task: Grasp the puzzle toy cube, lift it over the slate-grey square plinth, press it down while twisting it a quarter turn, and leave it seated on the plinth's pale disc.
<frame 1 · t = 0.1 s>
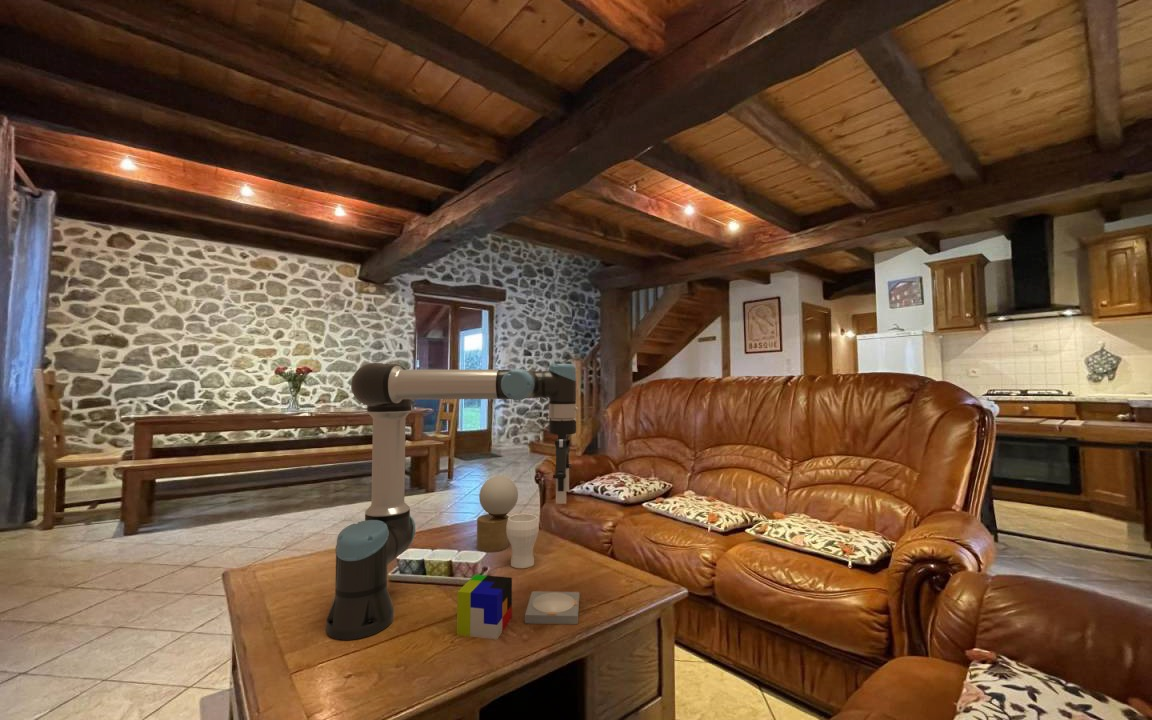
hand: (562, 497, 125), 28 cm above the table, fingers open, 13 cm apart
cup: (522, 564, 150), on the table
plinth: (553, 610, 119), on the table
lamp: (497, 546, 168), on the table
puzzle toy: (485, 627, 111), on the table
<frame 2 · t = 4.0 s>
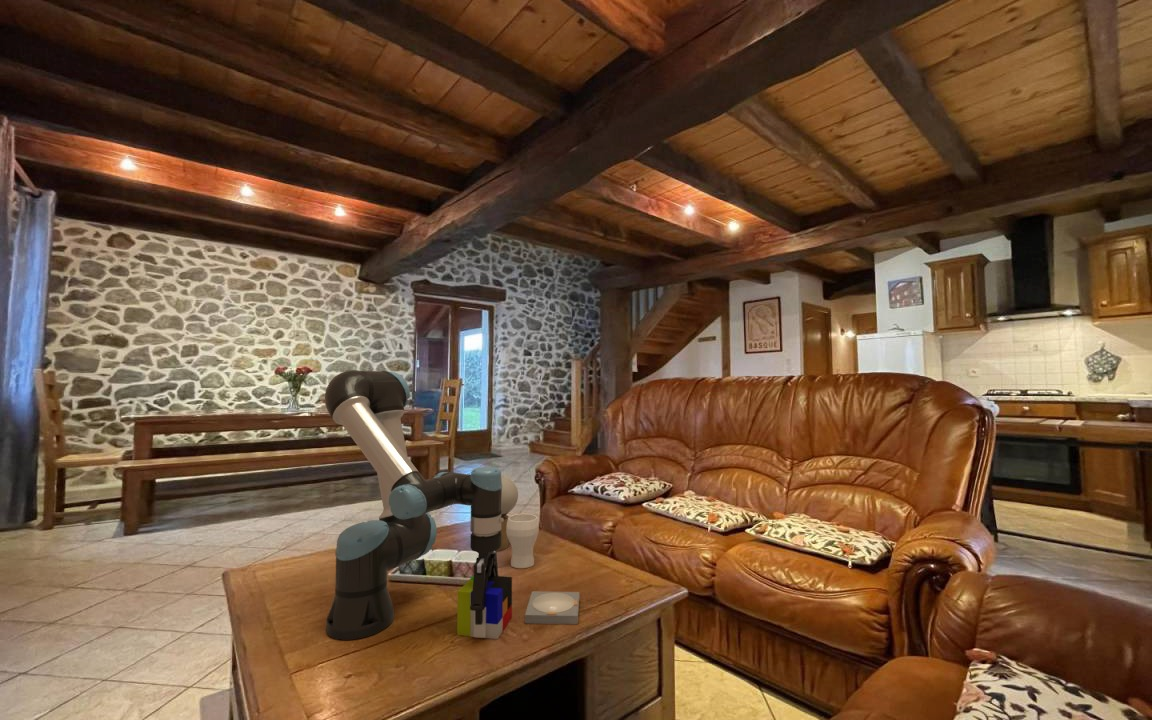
hand: (485, 624, 111), 0 cm above the table, fingers closed on puzzle toy, 11 cm apart
puzzle toy: (485, 626, 111), on the table, touching gripper
everything else where it was.
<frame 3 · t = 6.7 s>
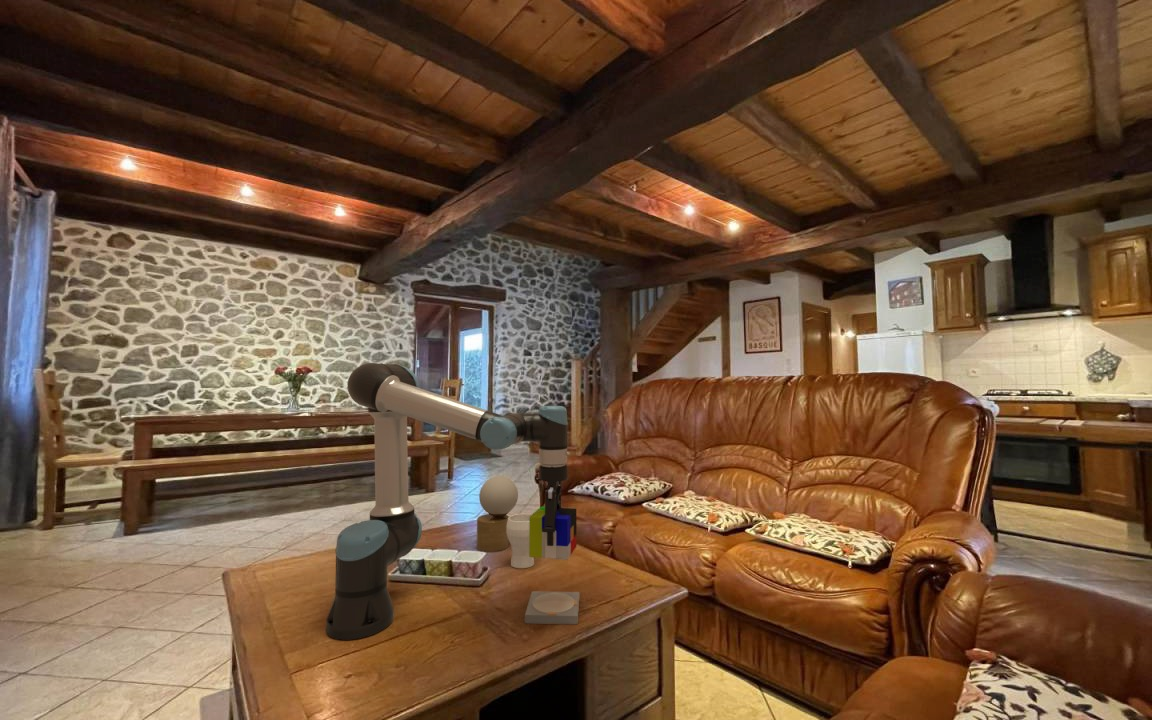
hand: (553, 549, 120), 16 cm above the table, fingers closed on puzzle toy, 11 cm apart
puzzle toy: (553, 552, 120), point 15 cm above the table, touching gripper
everything else where it was.
when the fingers open (4 cm above the table, at t = 9.8 s): puzzle toy stays where it is, resting on plinth.
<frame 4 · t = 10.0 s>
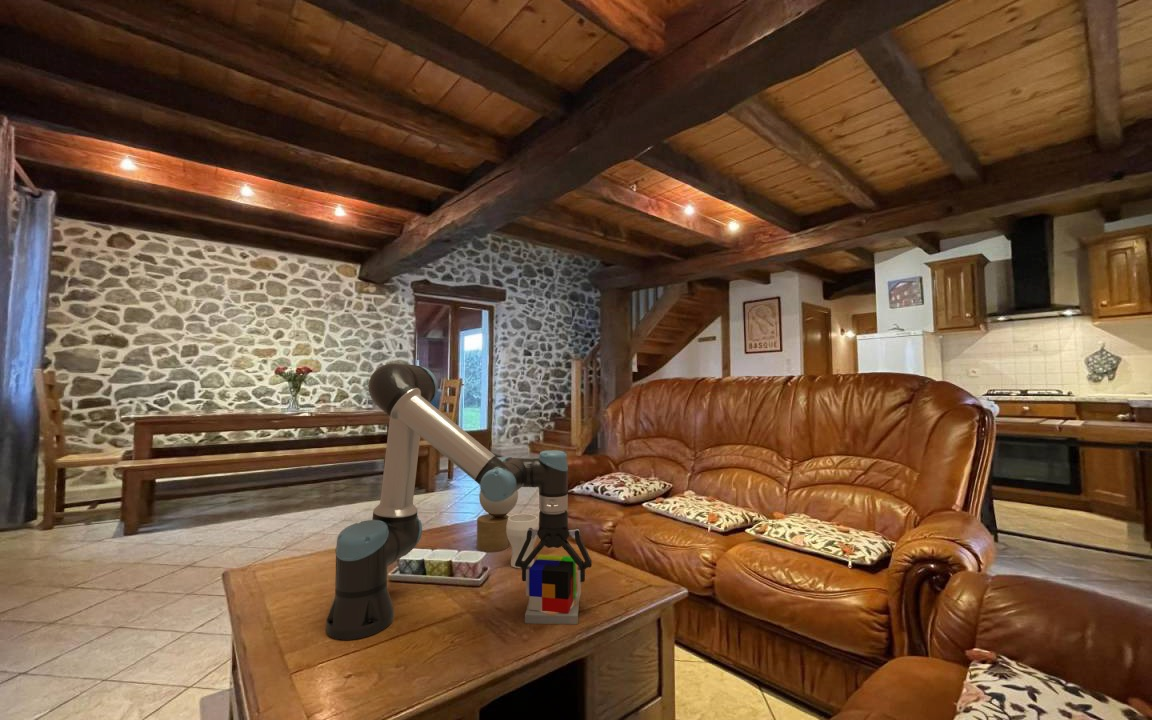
hand: (553, 593, 119), 4 cm above the table, fingers open, 13 cm apart
puzzle toy: (553, 602, 119), point 2 cm above the table, touching plinth
everything else where it was.
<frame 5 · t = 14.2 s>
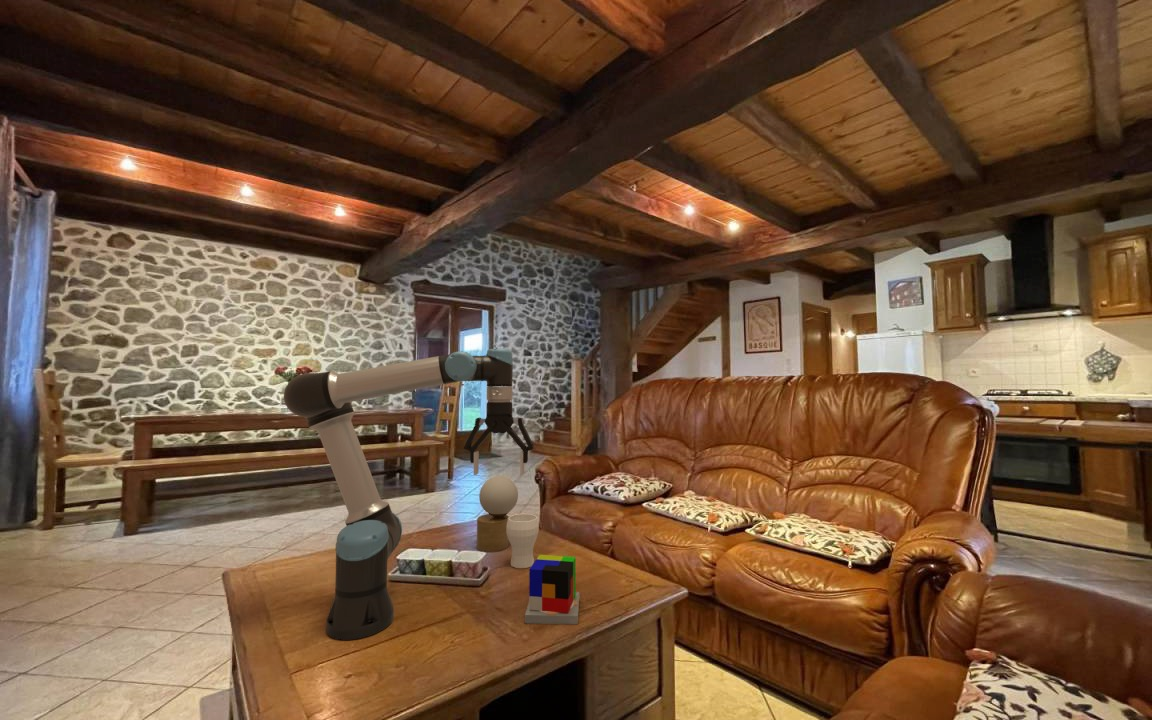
hand: (499, 474, 133), 33 cm above the table, fingers open, 13 cm apart
nothing on the table moved.
at the end: puzzle toy inside the target area on the plinth (0.1 cm from its centre), point 2.0 cm above the plinth's base; puzzle toy tilted 0°; the gripper is holding nothing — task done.
